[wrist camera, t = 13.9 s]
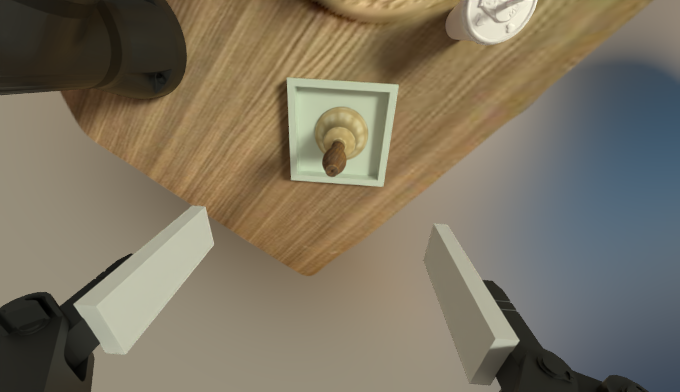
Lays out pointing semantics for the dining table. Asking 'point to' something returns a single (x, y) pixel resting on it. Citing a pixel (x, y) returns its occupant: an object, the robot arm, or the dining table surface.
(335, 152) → the hand bell
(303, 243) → the dining table surface
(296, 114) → the tray
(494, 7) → the smoothie
